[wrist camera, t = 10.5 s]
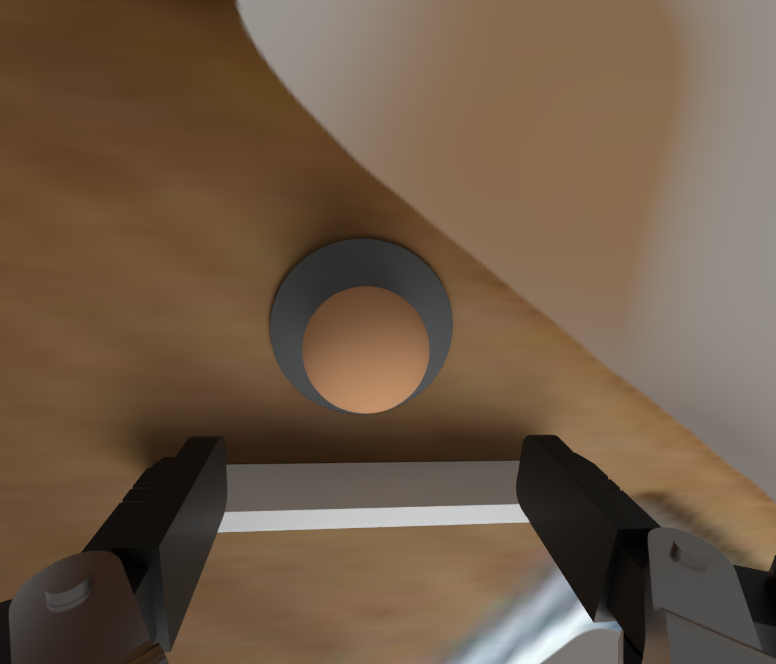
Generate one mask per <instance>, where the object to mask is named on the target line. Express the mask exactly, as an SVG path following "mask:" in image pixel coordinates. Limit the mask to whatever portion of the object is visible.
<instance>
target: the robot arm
mask: <svg viewBox="0 0 776 664" xmlns="http://www.w3.org/2000/svg"><path fill="white" fill-rule="evenodd" d="M516 495H517V500H518V503H519V505H520V507H521V509H522V511H523V512H524V514H525V516H526V517H527V519H528V520H529V522H530V523H531V525H532V527H533V528H534V530H535V531H536V533H537V534H538V536H539V538H540V539H541V541H542V542H543V544H544V545H545V547H546V549H547V550H548V552H549V553H550V555H551V556H552V558H553V559H554V561H555V563H556V564H557V566H558V567H559V569H560V570H561V572H562V574H563V575H564V577H565V578H566V580H567V581H568V583H569V585H570V586H571V588H572V589H573V591H574V592H575V594H576V596H577V597H578V599H579V600H580V602H581V603H582V605H583V607H584V608H585V610H586V611H587V613H588V614H589V616H590V618H591V619H592V621H593V622H607V621H617V622H618V624H619V625H620V627H621V628H622V629H621V632H620V636H619V641H618V664H776V555H775V557H774V560H773V562H772V565H771V568H770V570H769V572H766V571H761V570H756V569H752V568H747V567H742V566H737V565H732V563H731V562H730V561H729V559H728V558H727V557H726V556H725V555H724V554H723V553H721V552H720V551H719V550H718V549H716V548H715V547H714V546H712V545H711V544H709V543H708V542H706V541H704V540H703V539H701V538H699V537H697V536H695V535H692V534H690V533H687V532H685V531H681V530H678V529H674V528H667V527H661V526H660V525H659V524H658V523H656V522H655V521H654V520H653V519H652V518H651V517H650V516H649V515H648V514H647V513H646V512H645V511H644V510H643V509H642V508H641V507H640V506H638V505H637V504H636V503H635V502H634V501H633V500H632V499H631V498H630V497H629V496H628V495H627V494H626V493H625V492H624V491H620V488H619V487H618V486H617V485H616V484H615V483H614V482H613V481H612V480H611V479H610V480H609V479H608V476H607V475H606V474H605V473H604V472H603V471H601V470H600V469H599V468H598V467H597V466H596V465H595V464H594V463H592V462H590V461H589V460H587V459H585V458H584V457H582V456H580V455H578V454H577V453H574V452H573V451H572V450H571V449H570V448H569V447H568V446H567V445H566V444H565V443H564V442H563V441H562V440H561V439H560V438H559V437H557V436H556V435H528V436H526V437H525V439H524V441H523V446H522V452H521V458H520V463H519V469H518V475H517V481H516ZM226 503H227V469H226V450H225V440H224V438H223V437H222V436H192V437H190V438H189V439H188V440H187V441H186V443H185V444H184V446H183V447H182V449H181V450H180V451H179V453H178V454H177V456H176V457H164V458H163V459H161V460H160V461H158V462H157V463H155V464H154V465H153V466H151V467H150V468H148V469H147V470H145V471H144V473H143V474H142V475H141V476H140V478H139V479H138V480H137V482H136V483H135V484H134V485H133V489H130V491H129V492H128V493H127V494H126V496H125V497H124V498H123V501H122V503H119V505H118V506H117V507H116V509H115V510H114V511H113V512H112V514H111V515H110V516H109V517H108V519H107V520H106V521H105V523H104V524H103V525H102V526H101V528H100V529H99V530H98V532H97V533H96V534H95V535H94V537H93V538H92V539H91V541H90V542H89V543H88V544H87V546H86V547H85V548H84V550H83V551H82V552H81V553H78V554H75V555H72V556H69V557H66V558H63V559H61V560H59V561H57V562H55V563H53V564H51V565H49V566H48V567H46V568H44V569H43V570H41V571H40V572H38V573H37V574H36V575H34V576H33V577H32V578H31V579H29V580H28V581H27V582H26V583H25V584H24V585H23V586H22V587H21V588H20V590H19V591H18V592H17V593H16V595H15V596H14V598H13V599H11V600H7V601H4V602H1V603H0V664H169V663H168V661H167V658H166V656H165V653H164V652H171V649H172V647H173V644H174V642H175V639H176V636H177V634H178V631H179V629H180V626H181V624H182V621H183V619H184V616H185V613H186V611H187V608H188V606H189V603H190V601H191V598H192V596H193V593H194V591H195V588H196V585H197V583H198V580H199V578H200V575H201V573H202V570H203V568H204V565H205V562H206V560H207V557H208V555H209V552H210V550H211V547H212V545H213V542H214V539H215V537H216V534H217V532H218V529H219V527H220V524H221V522H222V519H223V516H224V513H225V509H226Z"/></svg>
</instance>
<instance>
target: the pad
mask: <svg viewBox="0 0 776 664" xmlns="http://www.w3.org/2000/svg"><path fill="white" fill-rule="evenodd" d="M360 286H371V287H379V288H383V289H386V290H389V291H391V292H394V293H395V294H397V295H399V296H401V297H402V298H403V299H405V300H406V301H407V302H408V303H410V304H411V305H412V306H413V307H414V309H415V310H416V311H417V312H418V314H419V315H420V317H421V319H422V321H423V323H424V325H425V328H426V330H427V334H428V338H429V361H428V366H427V369H426V372H425V374H424V377H423V379H422V381H421V382H420V384H419V386H418V387H417V388H416V390H415V391H414V392H413V393H412V394H411V395H410V396H409V397H408V398H407V399H405V400H404V401H403V402H401V403H400V404H398V405H396V406H395V407H398V406H400V405H402V404H404V403H406V402H408V401H409V400H411V399H413V398H414V397H415V396H417V395H418V394H419V393H421V392H422V391H423V390H424V389H425V388H426V387H427V386H428V385H429V384H430V383H431V382H432V380H433V379H434V378H435V377H436V375H437V374H438V372H439V371H440V369H441V367H442V366H443V364H444V361H445V359H446V357H447V354H448V351H449V348H450V344H451V338H452V325H453V322H452V312H451V308H450V303H449V300H448V297H447V295H446V292H445V289H444V288H443V286H442V284H441V282H440V280H439V279H438V278H437V276H436V275H435V273H434V272H433V271H432V270H431V269H430V268H429V267H428V266H427V265H426V264H425V263H424V262H423V261H422V260H421V259H420V258H418V257H417V256H416V255H414V254H413V253H411V252H409V251H408V250H406V249H404V248H402V247H400V246H397V245H395V244H392V243H389V242H385V241H381V240H375V239H349V240H343V241H339V242H336V243H332V244H329V245H327V246H325V247H322V248H320V249H318V250H316V251H315V252H313V253H312V254H310V255H308V256H307V257H306V258H305V259H303V260H302V261H301V262H300V263H299V264H298V265H297V266H296V267H295V268H294V269H293V270H292V271H291V272H290V273H289V275H288V276H287V277H286V279H285V280H284V282H283V283H282V285H281V287H280V289H279V291H278V293H277V295H276V298H275V301H274V304H273V308H272V314H271V322H270V333H271V342H272V346H273V351H274V354H275V357H276V359H277V362H278V364H279V366H280V368H281V369H282V371H283V373H284V374H285V376H286V377H287V379H288V380H289V381H290V383H291V384H292V385H293V386H294V387H295V388H296V389H297V390H298V391H299V392H301V393H302V394H303V395H304V396H306V397H307V398H308V399H310V400H312V401H313V402H315V403H317V404H319V405H321V406H323V407H325V408H328V409H331V410H334V411H338V412H343V413H348V414H365V413H355V412H350V411H347V410H344V409H341V408H339V407H337V406H335V405H333V404H331V403H330V402H328V401H327V400H326V399H325V398H323V397H322V395H321V394H320V393H319V392H318V391H317V390H316V389H315V387H314V386H313V385H312V383H311V381H310V380H309V378H308V375H307V373H306V370H305V367H304V362H303V356H302V346H303V338H304V333H305V330H306V327H307V324H308V323H309V321H310V319H311V317H312V315H313V314H314V313H315V311H316V310H317V309H318V308H319V306H320V305H321V304H322V303H323V302H325V301H326V300H327V299H328V298H330V297H331V296H333V295H335V294H336V293H339V292H341V291H343V290H346V289H349V288H354V287H360ZM395 407H393V408H395ZM393 408H390V409H393ZM390 409H388V410H390ZM385 411H386V410H385ZM382 412H383V411H382ZM377 413H378V412H377ZM367 414H372V413H367Z"/></svg>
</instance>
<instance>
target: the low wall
mask: <svg viewBox="0 0 776 664" xmlns="http://www.w3.org/2000/svg"><path fill="white" fill-rule="evenodd" d="M519 463H520V461H456V462H381V463H306V464H232V465H226V469H227V503H226V509H225V513H224V516H223V519H222V522H221V524H220V527H219V529H218V532H241V531H272V530H303V529H333V528H364V527H395V526H426V525H457V524H487V523H518V522H529V520H528V519H527V517H526V516H525V514H524V512H523V511H522V509H521V507H520V505H519V503H518V500H517V495H516V481H517V475H518V469H519ZM150 467H151V466H150ZM150 467H149V468H150Z"/></svg>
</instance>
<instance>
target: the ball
mask: <svg viewBox="0 0 776 664" xmlns="http://www.w3.org/2000/svg"><path fill="white" fill-rule="evenodd" d="M302 356H303V362H304V367H305V370H306V373H307V375H308V378H309V380H310V381H311V383H312V385H313V386H314V387H315V389H316V390H317V391H318V392H319V393H320V394H321V395H322V397H323V398H325V399H326V400H327V401H328V402H330V403H331V404H333V405H335V406H337V407H339V408H341V409H344V410H347V411H350V412H355V413H365V414H367V413H377V412H382V411H385V410H388V409H390V408H393V407H395V406H396V405H398V404H400V403H401V402H403V401H404V400H405V399H407V398H408V397H409V396H410V395H411V394H412V393H413V392H414V391H415V390H416V388H417V387H418V386H419V384H420V382H421V381H422V379H423V377H424V374H425V372H426V369H427V366H428V361H429V338H428V334H427V330H426V328H425V325H424V323H423V321H422V319H421V317H420V315H419V314H418V312H417V311H416V310H415V309H414V307H413V306H412V305H411V304H410V303H408V302H407V301H406V300H405V299H403V298H402V297H401V296H399V295H397V294H395V293H394V292H391V291H389V290H386V289H383V288H379V287H371V286H360V287H354V288H349V289H346V290H343V291H341V292H339V293H336V294H335V295H333V296H331V297H330V298H328V299H327V300H326V301H325V302H323V303H322V304H321V305H320V306H319V308H318V309H317V310H316V311H315V313H314V314H313V315H312V317H311V319H310V321H309V323H308V324H307V327H306V330H305V333H304V338H303V346H302Z"/></svg>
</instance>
